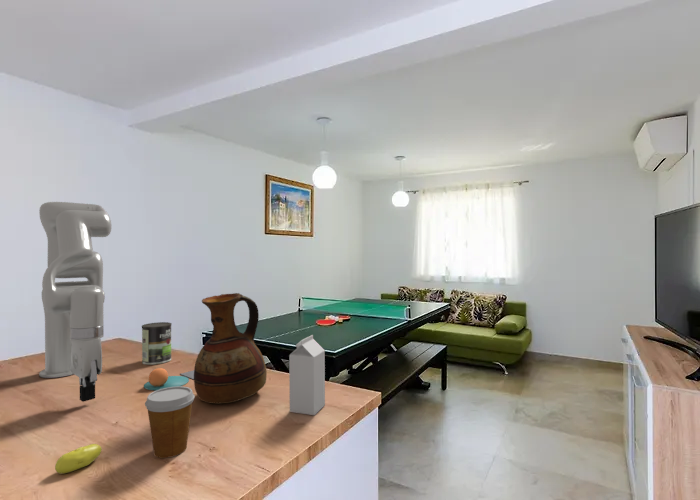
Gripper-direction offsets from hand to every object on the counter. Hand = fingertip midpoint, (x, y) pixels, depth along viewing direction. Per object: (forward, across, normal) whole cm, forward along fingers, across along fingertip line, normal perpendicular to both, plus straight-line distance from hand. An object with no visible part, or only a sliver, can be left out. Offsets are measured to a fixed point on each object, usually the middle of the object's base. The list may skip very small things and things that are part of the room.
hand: (87, 399), depth 106 cm
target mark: (+2, 0, +22) cm, 22 cm away
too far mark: (+2, 0, +34) cm, 34 cm away
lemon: (+2, +34, -12) cm, 36 cm away
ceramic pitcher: (+2, +26, +28) cm, 38 cm away
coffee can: (+2, -28, +32) cm, 43 cm away
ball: (-1, +1, +19) cm, 19 cm away
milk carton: (+2, +50, +35) cm, 61 cm away
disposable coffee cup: (+2, +42, +2) cm, 42 cm away
